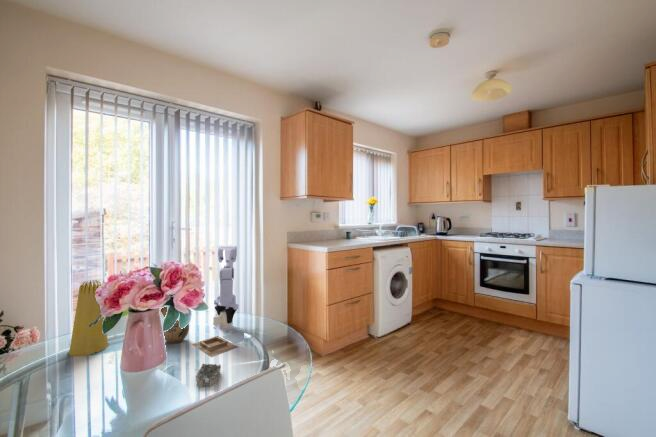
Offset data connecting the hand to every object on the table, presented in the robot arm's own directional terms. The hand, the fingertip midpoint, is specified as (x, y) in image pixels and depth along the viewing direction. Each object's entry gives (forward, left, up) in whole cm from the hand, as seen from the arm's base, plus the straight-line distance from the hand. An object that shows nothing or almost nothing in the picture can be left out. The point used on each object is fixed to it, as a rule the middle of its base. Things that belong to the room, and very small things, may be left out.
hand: (225, 321), depth 138 cm
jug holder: (+1, -6, -10) cm, 11 cm away
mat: (0, +7, -10) cm, 12 cm away
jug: (0, -2, -2) cm, 3 cm away
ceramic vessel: (-17, -16, -10) cm, 25 cm away
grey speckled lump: (+24, -21, -10) cm, 33 cm away
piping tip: (-37, -44, -10) cm, 58 cm away
